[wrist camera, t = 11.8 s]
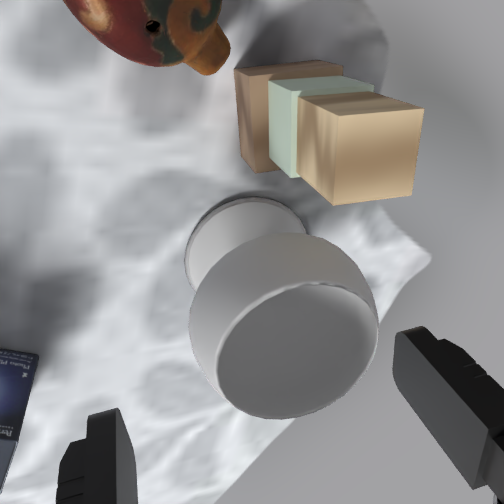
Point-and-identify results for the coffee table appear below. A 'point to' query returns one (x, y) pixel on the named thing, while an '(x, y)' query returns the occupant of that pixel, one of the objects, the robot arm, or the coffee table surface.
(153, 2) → the decorative turtle
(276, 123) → the tower cube
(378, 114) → the oak block
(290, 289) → the chalice
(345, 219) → the coffee table surface
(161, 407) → the coffee table surface
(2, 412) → the small box
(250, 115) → the tower slab
